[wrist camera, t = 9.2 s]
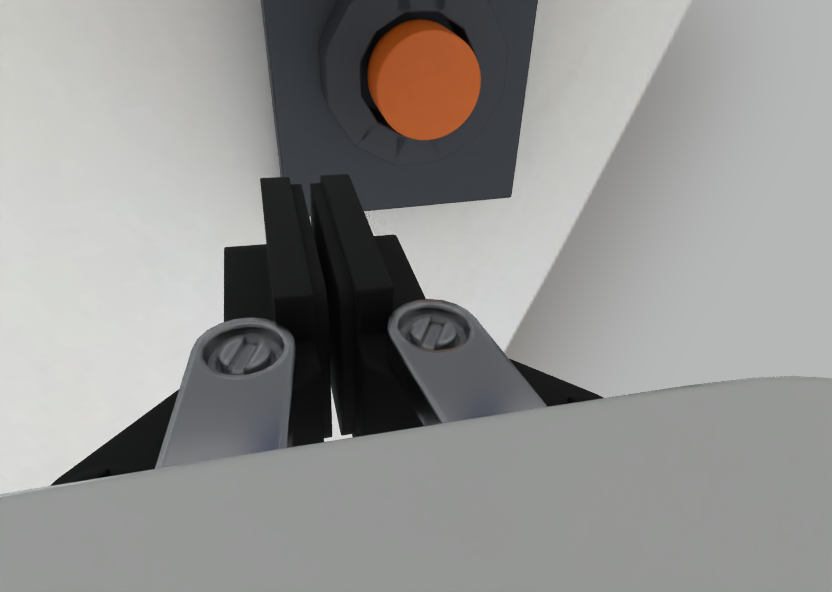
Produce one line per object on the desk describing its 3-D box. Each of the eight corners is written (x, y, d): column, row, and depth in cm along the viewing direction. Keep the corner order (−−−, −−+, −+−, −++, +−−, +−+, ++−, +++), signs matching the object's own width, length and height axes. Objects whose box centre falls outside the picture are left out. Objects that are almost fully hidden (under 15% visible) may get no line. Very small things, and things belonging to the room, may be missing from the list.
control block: (244, -142, 19) (248, -144, 16) (529, -131, 21) (582, -131, 18) (282, 196, 26) (290, 240, 23) (494, 177, 28) (527, 216, 25)
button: (365, 19, 19) (376, 31, 18) (469, 17, 20) (486, 28, 19) (367, 126, 21) (377, 144, 20) (461, 121, 22) (476, 137, 21)
